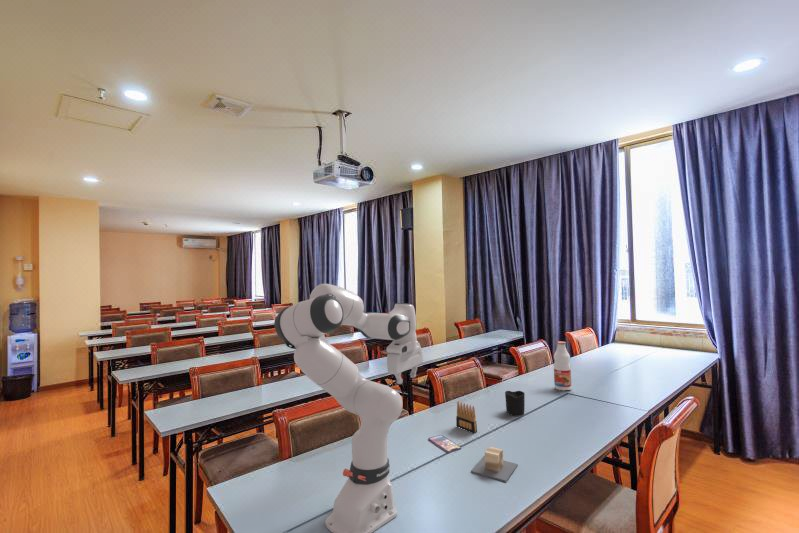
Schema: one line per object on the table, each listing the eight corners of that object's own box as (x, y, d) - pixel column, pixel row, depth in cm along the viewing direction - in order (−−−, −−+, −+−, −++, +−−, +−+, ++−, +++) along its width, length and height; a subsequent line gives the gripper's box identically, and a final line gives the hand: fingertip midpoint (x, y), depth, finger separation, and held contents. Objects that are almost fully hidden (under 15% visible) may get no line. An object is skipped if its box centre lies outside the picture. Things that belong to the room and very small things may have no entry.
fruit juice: (574, 389, 228) (573, 341, 228) (566, 392, 222) (564, 344, 223) (559, 385, 235) (558, 340, 236) (551, 388, 230) (549, 342, 230)
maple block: (498, 472, 136) (498, 455, 136) (485, 468, 139) (484, 452, 139) (503, 466, 141) (502, 449, 141) (490, 462, 143) (489, 446, 143)
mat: (506, 482, 131) (506, 480, 131) (470, 472, 138) (470, 470, 138) (517, 465, 142) (517, 464, 142) (484, 457, 149) (484, 455, 149)
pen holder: (518, 417, 187) (517, 397, 187) (502, 412, 194) (501, 393, 194) (528, 412, 193) (528, 392, 193) (512, 408, 200) (511, 388, 200)
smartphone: (441, 436, 170) (462, 449, 157) (427, 440, 166) (447, 454, 153) (441, 434, 170) (462, 447, 157) (427, 438, 166) (447, 451, 153)
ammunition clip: (477, 432, 172) (476, 405, 172) (474, 433, 170) (473, 406, 171) (458, 425, 180) (458, 400, 180) (456, 426, 179) (455, 401, 179)
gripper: (412, 339, 158) (413, 373, 158) (383, 348, 141) (384, 386, 141) (426, 340, 155) (427, 374, 155) (397, 350, 138) (399, 388, 138)
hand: (406, 380), depth 148 cm, fingers open, 8 cm apart
